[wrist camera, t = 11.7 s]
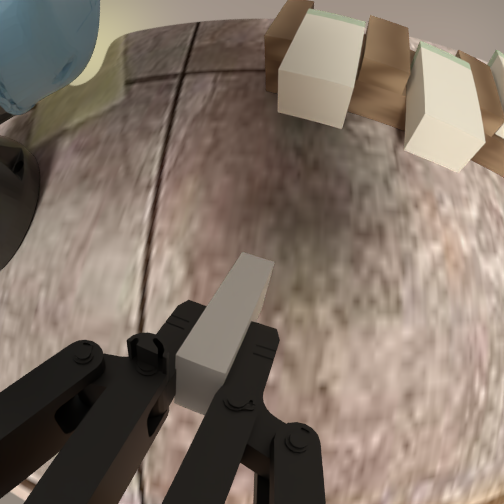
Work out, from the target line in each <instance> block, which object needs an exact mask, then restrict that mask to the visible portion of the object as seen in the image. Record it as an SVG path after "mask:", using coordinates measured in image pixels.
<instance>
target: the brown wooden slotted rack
mask: <svg viewBox="0 0 504 504" xmlns="http://www.w3.org/2000/svg"><path fill="white" fill-rule="evenodd" d="M308 9H314V2H313V1H308V0H288V1H287V2H286V3H285V5H284V6H283V8H282V9H281V11H280V12H279V14H278V15H277V17H276V18H275V20H274V21H273V23H272V24H271V26H270V28H269V29H268V31H267V32H266V34H265V35H264V39H265V72H266V91H268V92H273V93H278V69H279V67H280V65H281V63H282V61H283V59H284V57H285V55H286V53H287V51H288V49H289V47H290V45H291V43H292V41H293V39H294V37H295V35H296V33H297V31H298V29H299V27H300V25H301V23H302V21H303V19H304V17H305V15H306V13H307V11H308ZM415 53H416V52H414V51H412V50H410V47H409V33H408V28H407V27H404V26H401V25H399V24H396V23H392V22H390V21H387V20H384V19H381V18H377V17H374V16H371V15H370V18H369V23H368V27H367V31H366V35H365V34H364V35H363V41H362V47H361V52H360V58H359V63H358V69H357V74H356V79H355V84H354V89H353V92H352V96H351V99H350V103H349V106H348V110H347V112H351V113H354V114H357V115H360V116H363V117H366V118H369V119H372V120H375V121H378V122H381V123H384V124H387V125H390V126H392V127H395V128H398V129H400V130H403V131H405V122H406V94H407V81H408V79H409V76H410V74H411V73H410V65H411V63H412V60H413V58H414V55H415ZM455 57H458V58H460V59H462V60H464V61H466V62H467V63H469V64H470V68H471V71H472V75H473V79H474V83H475V88H476V92H477V97H478V101H479V106H480V111H481V117H482V123H483V129H484V135H485V142H486V143H485V144H484V145H483V146H482V147H481V148H480V149H479V151H478V152H477V153H476V154H475V155H474V156H473V157H472V158H471V159H470V160H472V161H474V162H476V163H478V164H480V165H482V166H484V167H486V168H487V169H489V170H491V171H493V172H495V173H497V174H499V175H500V176H502V177H504V139H503V138H502V137H500V136H498V135H496V134H495V132H496V131H497V130H498V129H499V127H500V126H501V125H502V124H503V123H504V113H503V109H502V105H501V102H500V98H499V95H498V91H497V88H496V84H495V81H494V78H493V75H492V72H491V69H490V66H488V65H486V64H485V63H483V62H481V61H479V60H477V59H476V58H474V57H472V56H470V55H468V54H466V53H464V52H462V51H460V50H458V52H457V54H456V56H455Z"/></svg>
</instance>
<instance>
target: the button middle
mask: <svg viewBox="0 0 504 504" xmlns="http://www.w3.org/2000/svg"><path fill="white" fill-rule="evenodd" d="M410 73H411V74H410V76H409V79H408V81H407V94H406V122H405V139H404V151H407V152H409V153H412V154H414V155H417V156H419V157H422V158H424V159H427V160H429V161H432V162H434V163H436V164H439V165H441V166H443V167H446V168H448V169H450V170H452V171H454V172H457V173H459V171H460V170H461V169H462V168H463V167H464V166H465V165H466V164H467V163H468V162H469V161H470V159H471V158H472V157H473V156H474V155H475V154H476V153H477V152H478V151H479V149H480V148H481V147H482V146H483V145H484V144H485V143H486V142H485V135H484V129H483V123H482V117H481V111H480V106H479V101H478V97H477V92H476V88H475V83H474V79H473V75H472V71H471V68H470V64H469V63H467V62H466V61H464V60H462V59H460V58H458V57H455V56H453V55H451V54H449V53H447V52H445V51H443V50H440V49H438V48H436V47H434V46H431V45H429V44H427V43H424V42H422V41H420V43H419V45H418V48H417V50H416V53H415V55H414V58H413V60H412V63H411V65H410Z"/></svg>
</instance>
